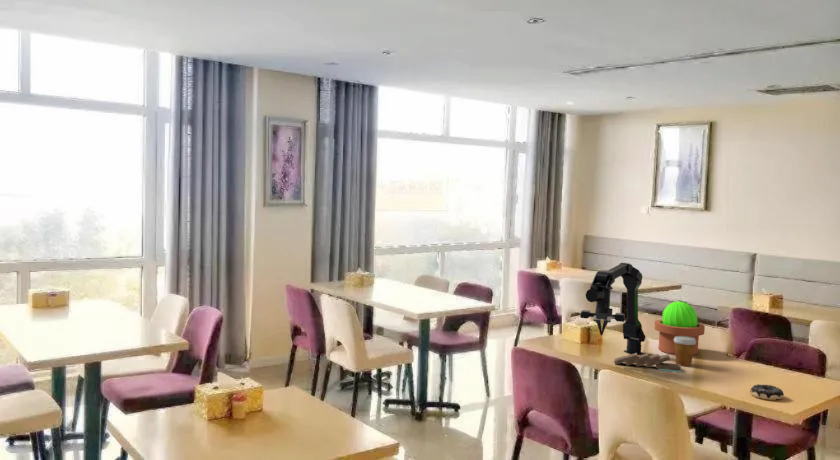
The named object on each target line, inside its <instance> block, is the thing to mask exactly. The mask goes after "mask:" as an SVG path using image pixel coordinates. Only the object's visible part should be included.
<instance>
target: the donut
mask: <svg viewBox="0 0 840 460" xmlns="http://www.w3.org/2000/svg"><path fill="white" fill-rule="evenodd" d="M749 391H750V394H751V396H752V395H753V396H752V397H754V396H755V397H754V398H756V397H758V398H757V399H759V398H762V399H761V400H763V399H769V400H768V401H777V400H776V399H780V400H782V399H783V398H784V396H785V395H784V394H785V393H784V391H783V389H781V388H779V387H777V386H775V385H771V384H754V385H753V386H751V388H750V390H749Z"/></svg>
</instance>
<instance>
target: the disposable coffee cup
mask: <svg viewBox="0 0 840 460" xmlns="http://www.w3.org/2000/svg"><path fill="white" fill-rule="evenodd" d="M674 342H675V364H680V366H681V367H690V366H691V367H692V361H693V356H694V355H693V352H694V347H695V344H696V340H695V338H692V337H688V336H675V338H674Z"/></svg>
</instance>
